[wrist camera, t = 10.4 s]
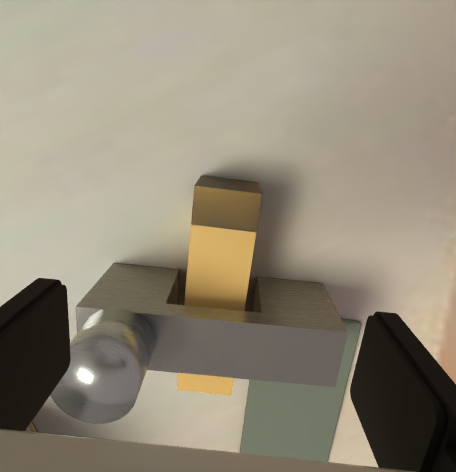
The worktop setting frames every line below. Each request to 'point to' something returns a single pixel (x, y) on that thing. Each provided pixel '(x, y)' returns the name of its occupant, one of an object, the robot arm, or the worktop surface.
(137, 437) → the worktop surface
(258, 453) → the mat
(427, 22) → the worktop surface
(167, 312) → the housing
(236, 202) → the yellow rectangular block
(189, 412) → the worktop surface
